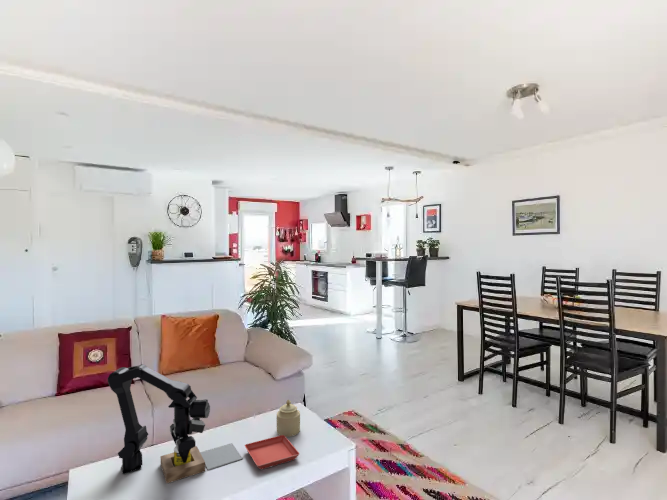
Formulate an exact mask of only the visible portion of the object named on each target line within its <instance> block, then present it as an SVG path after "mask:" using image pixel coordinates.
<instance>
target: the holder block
mask: <svg viewBox="0 0 667 500" xmlns="http://www.w3.org/2000/svg"><path fill="white" fill-rule="evenodd" d="M200 452H201V451H200V449H199V448H198V445H196V446H195V447H193V448H191V462H189V463H186V464H183V465H179V466H176V467H174V452H171V453H167V454H164V455H160V457H159V458H160V467H161V470H162V473H163V478H164V480H165V483H166V484H168V483H170V484H171V483H172V482H173V483H174V482H176V481H179V480H182V479H185V478H187V477H192V476H194V475H198V474H200V473H201V474H202V473H204V472H206V466H205V461H204V459H203V457H202V455H201V453H200Z"/></svg>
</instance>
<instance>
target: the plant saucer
mask: <svg viewBox="0 0 667 500" xmlns="http://www.w3.org/2000/svg"><path fill="white" fill-rule="evenodd" d="M244 447H245V448H246V450H247V452H248V453H249V456H250V457H251V458H252V460H253V462H254V463H255V465H256V468H258V469H259V470H264V469H268V468H271V466H272V467H275V466H277V465H278V464H279V465H281V463H282V464H285V463H288V461H289V462H292V461H294V460H295V459H297V458H298V457H299V455H300V452H299V451H298V449H296V447H295V446H294V445H293V444H292V442H291V441H290V440H289V439H288V437H285V436H284V435H276V436H273V437H268V438H264V439H262V440H257V441H253V442H250V443H246V444H244ZM291 460H292V461H291Z"/></svg>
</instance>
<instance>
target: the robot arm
mask: <svg viewBox="0 0 667 500" xmlns="http://www.w3.org/2000/svg"><path fill="white" fill-rule="evenodd" d="M137 378H138V379H140V380H142V381H144V382H146V383H148V384H149V385H151V386H153V387H155V388H156V389H158V390H161V391H163V392H164V393H165V394H166V396H167V397H168V398H169V399H170V400H171V401H172V402H171V403H169V405H168V408H169V409H170V408H172V409H173V412H174V413H173V415H174V416H173V420H172V422H173V423H172V424H171V425H170V426H169V432H170V435H171V437H172V440H173V442H174V444H175V445H176V443H177V450H178V452H179V454H180V456H181V459H182V461H183V463H185V462H187V458H188V454H189V451H190V449H191V448H193V447H195V446H197V445H196V439H195V437H194V436H192V434H193V433H199V434H203V433H204V430H205V427H206V423H205V422H204V421H203V420H202V419H208V418H209V417H210V412H211V405H210V403H209V399H198V397H197V395H196V394H195V392H193V390H192V388H191V387H192V386H191V385H190V384H189V383H186V382H183V381H179V380H173V379H170V378H168V377H167V376H165V375H163V374H161V373H160V372H157V371H156V370H153V369H152V368H150V367H148V366H147V365H146V364H145V363H144V364H139V365H133V366H130V367H124V366H123V367H119V368H118V369H116V370H114V371H113V372H112V373H110V374H109V375H108V377H107V383H108V386H109V387H110V388H109V389H110V390H111V391H112V392H113V393H114V394H116V397H117V400H118V404H119V405H118V406H119V409H120V413H121V416H122V420H123V425H124V430H125V431H124V435H123V436H124V437H123V446H124V447H122V449H121V450H120V451H118V452H117V456H118V458H119V459H121V471H122V475H125V474H129V473H131V472H132V473H133V472H135V471H139V470H142V465H143V453H142V451H141V448H143V446H144V444H145V443H146V442H147V440H148V436H149V435H150V434H149V433H148V430H147V426H146V425H143V426H142V425H141V424H140V423H139V418H138V413H137V411H136V408H135V403H134V399H133V395H132V390H131V387H132V380H134V379H137ZM191 418H192V419H191ZM180 438H181V439H180ZM178 439H179V440H178ZM177 440H178V441H177ZM176 441H177V442H176Z"/></svg>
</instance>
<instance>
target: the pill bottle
mask: <svg viewBox="0 0 667 500" xmlns="http://www.w3.org/2000/svg"><path fill="white" fill-rule="evenodd" d="M180 439H181V438H180ZM178 440H179V439H178ZM178 440H177V441H178ZM177 441H176V442H177ZM173 453H174V465H173V466H174V467H176V466H179V465H183V464H186V463H189V462H191V449H190V451H189V454H188V458H187V462H185V463H183V461H182V459H181V456H180V454H179V452H178V450H177V443H176V444H175V446H174V449H173Z"/></svg>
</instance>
